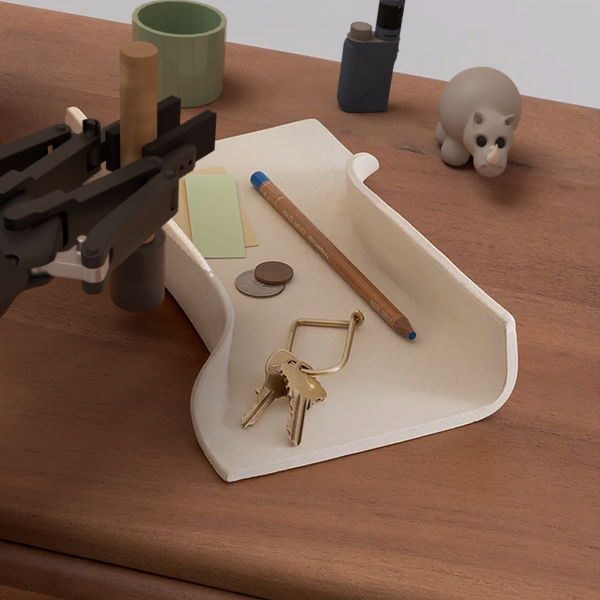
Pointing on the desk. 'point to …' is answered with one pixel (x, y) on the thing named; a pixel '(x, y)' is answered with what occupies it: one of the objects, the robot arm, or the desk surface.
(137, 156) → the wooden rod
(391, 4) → the vaping device
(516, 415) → the desk surface
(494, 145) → the chubby cartoon animal
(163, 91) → the cup
